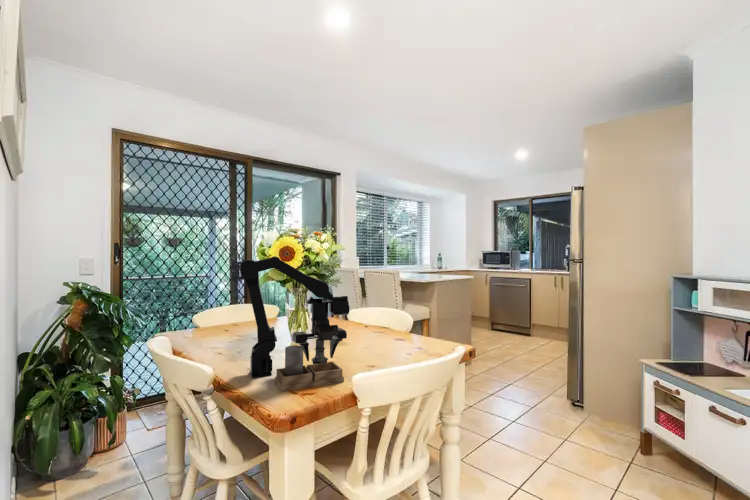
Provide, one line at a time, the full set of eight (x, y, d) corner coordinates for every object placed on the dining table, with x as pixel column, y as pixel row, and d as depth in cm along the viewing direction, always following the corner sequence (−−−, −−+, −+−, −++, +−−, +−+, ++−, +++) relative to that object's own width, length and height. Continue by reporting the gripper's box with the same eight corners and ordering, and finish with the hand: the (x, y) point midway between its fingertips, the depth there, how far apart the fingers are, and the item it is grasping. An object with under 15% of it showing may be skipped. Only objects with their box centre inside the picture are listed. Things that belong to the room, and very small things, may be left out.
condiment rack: (281, 391, 113) (281, 353, 113) (274, 381, 122) (275, 345, 122) (344, 381, 121) (344, 346, 122) (333, 372, 130) (333, 339, 131)
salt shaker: (324, 372, 131) (325, 337, 131) (308, 371, 132) (309, 336, 132) (330, 367, 137) (330, 334, 137) (314, 366, 138) (315, 333, 138)
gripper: (300, 321, 123) (300, 369, 123) (352, 317, 131) (352, 362, 131) (292, 316, 133) (291, 360, 133) (341, 312, 141) (341, 354, 141)
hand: (319, 359), depth 135 cm, fingers closed on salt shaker, 8 cm apart
